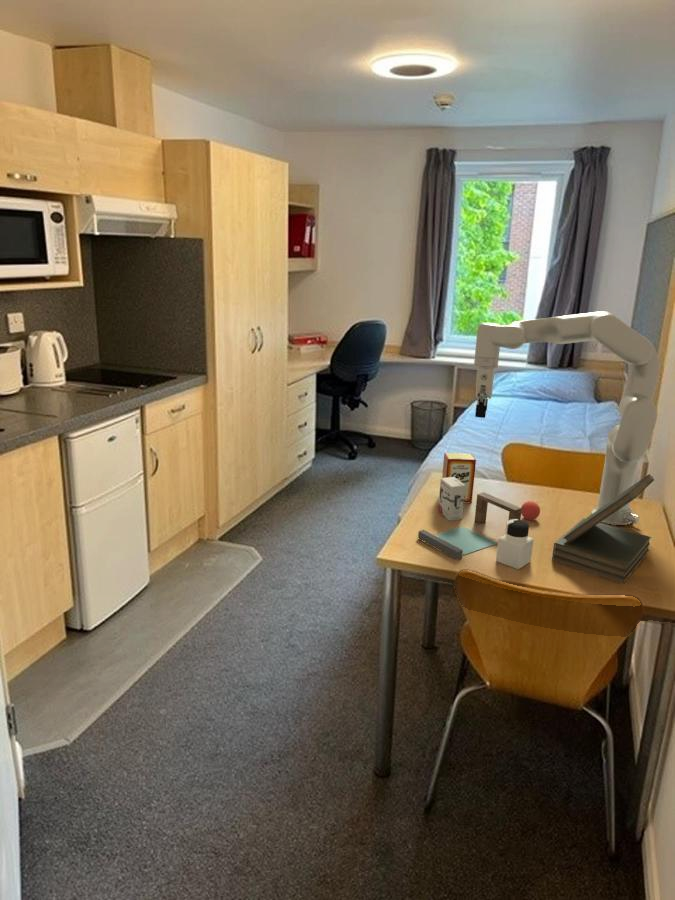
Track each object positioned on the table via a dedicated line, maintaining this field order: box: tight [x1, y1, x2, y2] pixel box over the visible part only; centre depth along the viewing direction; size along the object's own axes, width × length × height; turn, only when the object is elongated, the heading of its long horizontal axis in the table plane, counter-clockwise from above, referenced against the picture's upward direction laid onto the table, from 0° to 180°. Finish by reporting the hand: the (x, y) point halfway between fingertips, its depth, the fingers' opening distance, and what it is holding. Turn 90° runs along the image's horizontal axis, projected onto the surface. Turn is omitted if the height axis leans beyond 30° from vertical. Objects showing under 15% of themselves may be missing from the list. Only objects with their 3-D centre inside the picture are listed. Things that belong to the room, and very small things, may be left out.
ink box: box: [437, 477, 465, 521], centre depth 209 cm, size 9×5×12 cm, turn 18°
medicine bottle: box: [495, 519, 534, 570], centre depth 179 cm, size 7×7×12 cm
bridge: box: [473, 492, 522, 526], centre depth 199 cm, size 3×15×10 cm, turn 35°
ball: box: [520, 500, 541, 521], centre depth 209 cm, size 6×6×6 cm
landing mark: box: [435, 526, 498, 556], centre depth 193 cm, size 14×14×1 cm
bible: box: [551, 473, 655, 584], centre depth 181 cm, size 23×20×25 cm
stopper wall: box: [417, 529, 463, 560], centre depth 187 cm, size 16×2×2 cm, turn 35°
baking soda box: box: [441, 452, 477, 504], centre depth 222 cm, size 10×6×16 cm
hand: (480, 413), depth 213 cm, fingers open, 9 cm apart
